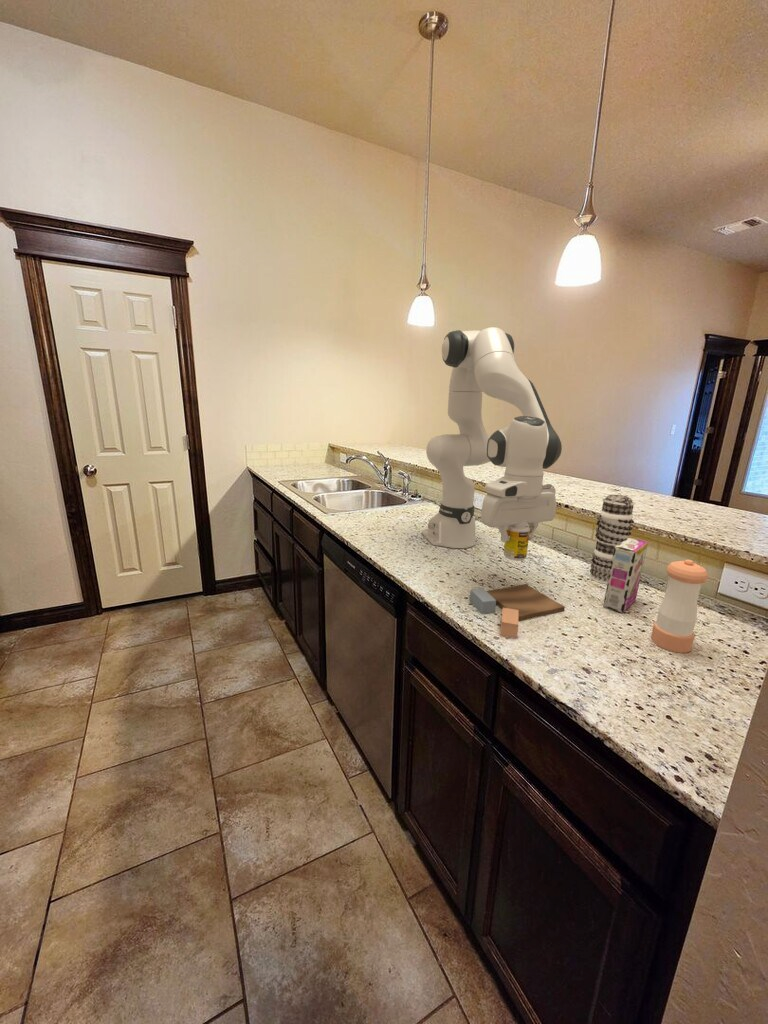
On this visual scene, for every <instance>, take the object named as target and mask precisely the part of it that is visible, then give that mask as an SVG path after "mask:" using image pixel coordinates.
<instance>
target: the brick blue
mask: <svg viewBox="0 0 768 1024" xmlns="http://www.w3.org/2000/svg"><path fill="white" fill-rule="evenodd" d="M469 591H470V592H469V602H470V603H471V605H473V606H474V608H475V609H476V610H477V611H478V612H479V613H480V614H481V615H485V614H486V615H488V614H495V613H496V609H497V608H496V606H497V605H496V600H495V599H494V598H493V597H492V596H491V595H490V594H489V593H488V592H487V591H488V590H486V589H485V588H484V587H481V588H480V587H479V588H471V589H470V590H469Z"/></svg>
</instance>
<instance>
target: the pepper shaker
mask: <svg viewBox="0 0 768 1024" xmlns="http://www.w3.org/2000/svg"><path fill="white" fill-rule="evenodd" d="M665 571H666V573H667V575H668V581H667V586H666V590H665V593H664V597H663V598H662V601H661V603H660V605H659V607H658V611H657V617H656V621H655V622H654V623H653V626H652V631H651V636H650V639H651V641H652V642H653V643H654V644H655V645H657V646H658V647H660V648H662V649H664V650H667V651H670V652H675V653H681V654H683V653H689V652H691V651H692V647H693V644H694V639H695V636H696V635H695V634H696V633H694V629H695V627H696V622H697V619H698V618H697V617H698V599H699V596H700V591H701V587H702V584H704V583H706V581H707V580H708V579H709V574H708V572H707V570H706V568H705V567H703V566H702V565H699V564H697V563H695V562H694V561H693V560H691V559H685V560H677V561H671V562H670V563H669V564H668V565H667V566H666V570H665Z"/></svg>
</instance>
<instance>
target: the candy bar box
mask: <svg viewBox="0 0 768 1024" xmlns="http://www.w3.org/2000/svg"><path fill="white" fill-rule="evenodd" d="M627 538H628V539H626V540H624V541H623V542H621V543H620V544H618V545H616V546H615V547H614V553H613V558H612V563H611V568H610V573H609V579H608V584H606V589H605V594H604V595H605V596H604V600H603V604H602V606H603V607H604V608H606V609H609V610H611V611H613V612H614V611H615V612H617V613H621V614H623V613H625V612H626V611H627V609H629V608H630V606H632V604H633V603H634V602H635V601H636V600H637V596H638V591H639V587H640V581H641V576H642V572H643V569H644V568H643V567H644V563H645V559H646V555H647V551H648V550H647V549H648V545H649V542H647V541H644V540H640V539H636V538H631V537H627Z"/></svg>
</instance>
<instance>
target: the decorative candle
mask: <svg viewBox="0 0 768 1024" xmlns="http://www.w3.org/2000/svg"><path fill="white" fill-rule="evenodd" d="M602 501H603V502H602V508H601V510H600V514H599V515H598V516H597V521H596V525H597V527H596V529H595V531H596V532H595V534H594V536H595V541H596V543H595V547H594V549H593V550H594V551H593V554H592V555H591V556H592V557H593V558H592V559H591V562H592V563H591V564H590V569H589V575H588V576H589V579H591V580H592V581H595V582H597V583H600V584H604V585H607V584H608V579H609V573H610V568H611V563H612V558H613V553H614V547H615V546H616V545H618V544H620V543H621V542H623V541H624V540H626V539H628V538H629V536H631V535H632V532H630V531H632V530H633V527H632V526H631V525H630V524H634V523H635V521H634V519H633V518H634V517H633V509H634V505H636V503H635V502H633V499H632V498H631V497H630V496H628V495H623V494H609V495H607V496H606V497H605V498H602Z"/></svg>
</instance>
